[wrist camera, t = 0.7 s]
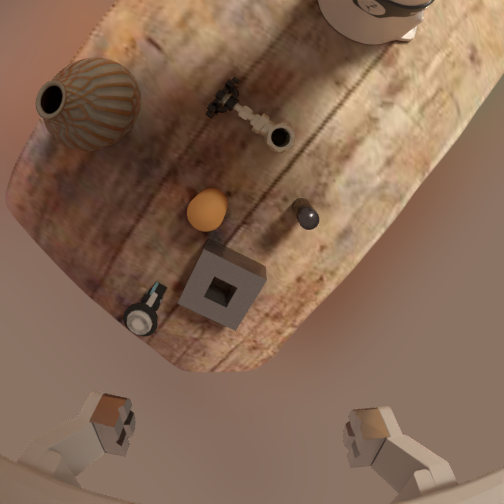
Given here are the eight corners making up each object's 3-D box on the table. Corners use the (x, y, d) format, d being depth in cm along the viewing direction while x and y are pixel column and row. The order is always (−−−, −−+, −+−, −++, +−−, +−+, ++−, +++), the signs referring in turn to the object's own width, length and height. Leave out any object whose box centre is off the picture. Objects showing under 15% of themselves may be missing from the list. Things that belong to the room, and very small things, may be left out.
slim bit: (297, 195, 48) (305, 206, 40) (312, 203, 48) (323, 216, 40) (289, 209, 48) (295, 223, 41) (304, 217, 49) (312, 233, 41)
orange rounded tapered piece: (203, 181, 47) (196, 188, 42) (233, 197, 48) (230, 205, 42) (189, 211, 49) (181, 221, 43) (218, 225, 49) (213, 237, 44)
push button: (160, 317, 55) (144, 351, 46) (134, 302, 54) (114, 334, 45) (175, 289, 53) (160, 321, 44) (148, 274, 52) (128, 302, 43)
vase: (110, 53, 40) (49, 26, 23) (169, 95, 43) (124, 76, 26) (65, 120, 43) (-5, 122, 27) (119, 164, 46) (58, 181, 30)
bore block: (208, 238, 50) (204, 249, 45) (265, 266, 52) (266, 280, 47) (183, 289, 53) (177, 303, 48) (237, 314, 55) (235, 330, 50)
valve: (302, 128, 44) (236, 80, 42) (310, 127, 38) (232, 72, 36) (275, 163, 46) (208, 116, 44) (278, 167, 40) (201, 112, 38)
